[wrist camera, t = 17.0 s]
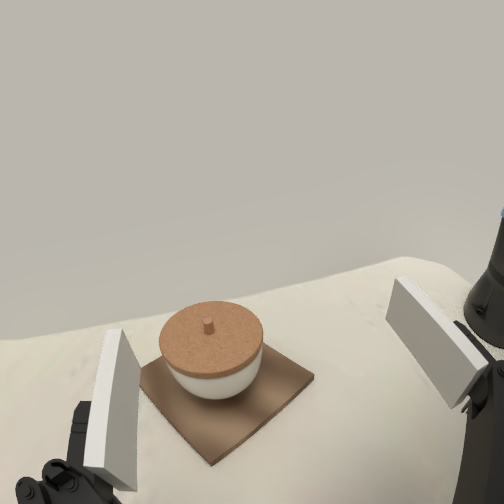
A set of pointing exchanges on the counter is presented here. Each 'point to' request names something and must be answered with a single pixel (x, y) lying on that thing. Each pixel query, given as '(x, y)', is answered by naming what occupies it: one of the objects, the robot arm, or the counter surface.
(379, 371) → the counter surface
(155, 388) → the walnut board
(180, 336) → the lidded jar
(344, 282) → the counter surface
